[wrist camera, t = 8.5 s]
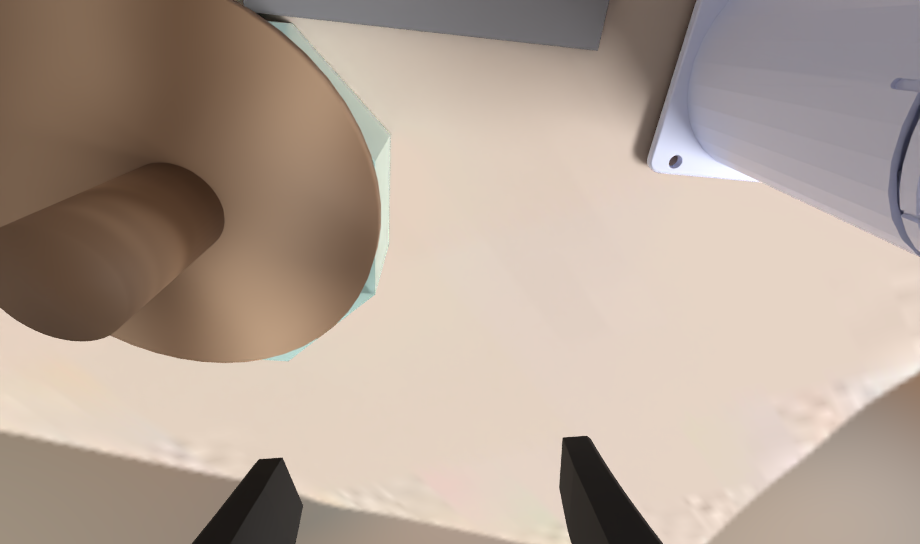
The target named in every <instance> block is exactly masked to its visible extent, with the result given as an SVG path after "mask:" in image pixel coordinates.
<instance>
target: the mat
mask: <svg viewBox="0 0 920 544" xmlns="http://www.w3.org/2000/svg"><path fill="white" fill-rule="evenodd" d="M243 3H244V6H245V7H247V8H249V9H250V10H252V11H254V12H255V13H263V14H272V15H281V16H290V17H299V18H308V19H317V20H326V21H335V22H344V23H353V24H362V25H371V26H380V27H389V28H398V29H407V30H416V31H425V32H434V33H443V34H452V35H461V36H470V37H479V38H488V39H497V40H506V41H515V42H524V43H533V44H542V45H551V46H560V47H569V48H578V49H587V50H596V51H598V48H599V43H600V39H601V35H602V30H603V26H604V21H605V17H606V12H607V8H608V4H609V0H243Z"/></svg>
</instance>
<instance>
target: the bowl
mask: <svg viewBox="0 0 920 544" xmlns="http://www.w3.org/2000/svg"><path fill="white" fill-rule="evenodd" d="M268 22H269V23H271V24H272V25H273V26H275V27H276V28H278V29H279V30H280V31H282V32H283V33H284V34H285V35H286V36H287V37H288V38H289V39H291V40H292V41H293V42H294V43H295V44H296V45H297V46H298V47H299V48H301V49H302V50H303V51H304V52H305V53H306V54H307V55H308V56H309V57H310V58H311V59H312V61H313V62H314V63H315V64H316V65H317V66H318V67H319V68H320V69H321V71H322V72H323V73H324V74H325V75H326V76H327V77H328V78H329V80H330V81H331V83H332V84H333V85H334V87H335V88H336V90H337V91H338V92H339V94H340V95H341V97H342V98H343V99H344V101H345V102H346V104H347V106H348V107H349V109H350V111H351V113H352V115H353V116H354V118H355V120H356V122H357V124H358V125H359V127H360V129H361V131H362V134H363V136H364V139H365V141H366V144H367V146H368V149H369V151H370V153H371V156H372V160H373V164H374V167H375V171H376V175H377V179H378V185H379V192H380V200H381V229H380V236H379V242H378V248H377V251H376V255H375V258H374V261H373V264H372V267H371V270H370V274H369V277H368V279H367V281H366V283H365V285H364V287H363V289H362V291H361V293H360V295H359V297H358V298H357V300H356V301H355V303H354V304H353V306H352V307H351V308H350V310H349V311H348V312H347V313H346V314H345V316H344V317H343V318H342V319H344V318H345V317H346V316H348V315H349V314H350V313H351V312H353V311H354V310H355V309H357V308H358V307H359V306H361V305H362V304H363V303H364V302H366V301H367V300H368V299H370V298H371V297H372V296H374V295H375V293H376V290H377V286H378V282H379V279H380V275H381V272H382V268H383V264H384V261H385V257H386V254H387V250H388V246H389V194H390V133H389V132H388V131H387V130H386V129H385V128H384V127H383V125H382V124H381V123H380V122H379V121H378V120H377V119H376V117H375V116H374V115H373V114H372V113H371V112H370V111H369V110H368V108H367V107H366V106H365V105H364V104H363V103H362V102H361V100H360V99H359V98H358V97H357V96H356V95H355V94H354V93H353V91H352V90H351V89H350V88H349V87H348V86H347V85H346V83H345V82H344V81H343V80H342V79H341V78H340V77H339V76H338V74H337V73H336V72H335V71H334V70H333V69H332V68H331V66H330V65H329V64H328V63H327V62H326V61H325V60H324V59H323V57H322V56H321V55H320V54H319V53H318V52H317V51H316V50H315V48H314V47H313V46H312V45H311V44H310V43H309V42H308V40H307V39H306V38H305V37H304V36H303V35H302V34H301V33H300V31H299V30H298V29H297V28H296V27H295V26H294V25H293V24H292V23H284V22H275V21H268ZM342 319H341V320H342ZM341 320H340V321H341ZM340 321H339V322H340ZM317 339H318V338H317ZM315 340H316V339H315ZM315 340H314V341H315ZM314 341H312V342H314ZM312 342H310V343H308V344H307V345H305V346H303V347H301V348H298V349H296V350H293V351H291V352H288V353H286V354H282V355H279V356H275V357H271V358H267V359H262V360H277V361H289V360H290V359H292V358H293V357H294V356H296V355H297V354H298V353H299V352H301V351H302V350H303V349H305V348H306V347H307V346H309V345H310V344H311V343H312Z"/></svg>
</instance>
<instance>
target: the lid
mask: <svg viewBox="0 0 920 544" xmlns="http://www.w3.org/2000/svg"><path fill="white" fill-rule="evenodd" d="M380 229H381V200H380V192H379V185H378V179H377V175H376V171H375V167H374V164H373V160H372V156H371V153H370V151H369V149H368V146H367V144H366V141H365V139H364V136H363V134H362V131H361V129H360V127H359V125H358V124H357V122H356V120H355V118H354V116H353V115H352V113H351V111H350V109H349V107H348V106H347V104H346V102H345V101H344V99H343V98H342V97H341V95H340V94H339V92H338V91H337V90H336V88H335V87H334V85H333V84H332V83H331V81H330V80H329V78H328V77H327V76H326V75H325V74H324V73H323V72H322V71H321V69H320V68H319V67H318V66H317V65H316V64H315V63H314V62H313V61H312V59H311V58H310V57H309V56H308V55H307V54H306V53H305V52H304V51H303V50H302V49H301V48H299V47H298V46H297V45H296V44H295V43H294V42H293V41H292V40H291V39H289V38H288V37H287V36H286V35H285V34H284V33H283V32H282V31H280V30H279V29H278V28H276V27H275V26H273V25H272V24H271V23H269V22H268V21H266V20H265V19H263V18H262V17H261V16H259V15H258V14H256V13H255V12H254V11H252V10H250V9H249V8H247V7H245V6H243V5H241V4H240V3H238V2H236V1H234V0H0V308H1V309H3V310H4V311H5V312H6V313H7V314H9V315H10V316H11V317H13V318H14V319H16V320H17V321H19V322H20V323H22V324H24V325H26V326H27V327H29V328H31V329H33V330H35V331H38V332H40V333H43V334H45V335H48V336H52V337H55V338H59V339H63V340H70V341H93V340H98V339H102V338H105V337H107V336H109V335H110V336H113V337H115V338H117V339H120V340H122V341H124V342H127V343H129V344H131V345H134V346H137V347H140V348H143V349H146V350H149V351H152V352H155V353H159V354H163V355H167V356H172V357H176V358H180V359H187V360H194V361H201V362H217V363H233V362H249V361H255V360H262V359H267V358H271V357H275V356H279V355H282V354H286V353H288V352H291V351H293V350H296V349H298V348H301V347H303V346H305V345H307V344H308V343H310V342H312V341H314V340H315V339H317V338H319V337H321V336H322V335H323V334H324V333H326V332H327V331H328V330H330V329H331V328H332V327H334V326H335V325H336V324H337V323H338V322H339V321H340V320H341V319H342V318H343V317H344V316H345V314H346V313H347V312H348V311H349V310H350V308H351V307H352V306H353V304H354V303H355V301H356V300H357V298H358V297H359V295H360V293H361V291H362V289H363V287H364V285H365V283H366V281H367V279H368V277H369V274H370V270H371V267H372V264H373V261H374V258H375V255H376V251H377V248H378V242H379V236H380Z"/></svg>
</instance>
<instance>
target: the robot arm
mask: <svg viewBox="0 0 920 544" xmlns="http://www.w3.org/2000/svg"><path fill="white" fill-rule="evenodd" d="M675 155H677V156H678V159H677V161H676V163H675V164H674V165H672V166H669V161H670V159H671V158H672V157H673V156H675ZM647 164H648V167H649V168H650V169H651V170H653V171H654V172H657V173H665V174H675V175H686V176H697V177H708V178H719V179H730V180H741V181H752V182H761V183H764V184H766V185H768V186H770V187H772V188H774V189H776V190H778V191H781V192H783V193H785V194H787V195H789V196H791V197H793V198H795V199H798V200H800V201H802V202H804V203H806V204H808V205H810V206H812V207H815V208H817V209H819V210H821V211H823V212H825V213H827V214H829V215H832V216H834V217H836V218H838V219H840V220H842V221H844V222H846V223H848V224H851V225H853V226H855V227H857V228H859V229H861V230H863V231H865V232H868V233H870V234H872V235H874V236H876V237H878V238H880V239H882V240H885V241H887V242H889V243H891V244H893V245H895V246H897V247H899V248H902V249H904V250H906V251H908V252H910V253H912V254H914V255H916V256H919V257H920V0H696V3H695V7H694V10H693V13H692V16H691V19H690V23H689V26H688V29H687V32H686V35H685V39H684V42H683V45H682V48H681V51H680V55H679V58H678V61H677V64H676V67H675V71H674V74H673V77H672V80H671V84H670V87H669V90H668V93H667V96H666V100H665V103H664V106H663V109H662V112H661V116H660V119H659V122H658V125H657V128H656V132H655V135H654V138H653V141H652V144H651V148H650V151H649V154H648V157H647ZM559 488H560V494H561V499H562V504H563V509H564V514H565V519H566V524H567V529H568V533H569V536H570V540H571V543H572V544H663V543H662V542H661V540H660V539H659V538H658V536H657V535H656V534H655V533H654V531H653V530H652V529H651V527H650V526H649V525H648V523H647V522H646V521H645V519H644V518H643V517H642V515H641V514H640V513H639V511H638V510H637V508H636V507H635V506H634V504H633V503H632V502H631V500H630V499H629V497H628V496H627V495H626V493H625V492H624V490H623V489H622V487H621V486H620V484H619V483H618V482H617V480H616V479H615V477H614V476H613V474H612V473H611V471H610V470H609V468H608V467H607V465H606V463H605V462H604V460H603V459H602V457H601V455H600V454H599V452H598V451H597V449H596V447H595V446H594V444H593V442H592V440H591V439H590V438H589V437H588V436H578V437H564V438H563V441H562V456H561V470H560V485H559ZM302 508H303V505H302V502H301V500H300V498H299V495H298V493H297V491H296V488H295V486H294V483H293V481H292V479H291V476H290V474H289V472H288V469H287V467H286V465H285V462H284V460H283V458H271V459H259V460H258V461H257V462H256V463H255V465H254V466H253V467H252V468H251V470H250V471H249V472H248V474H247V475H246V476H245V477H244V479H243V480H242V481H241V482H240V484H239V485H238V486H237V488H236V489H235V490H234V491H233V493H232V494H231V495H230V497H229V498H228V499H227V500H226V502H225V503H224V504H223V506H222V507H221V508H220V509H219V511H218V512H217V513H216V514H215V516H214V517H213V518H212V520H211V521H210V522H209V523H208V524H207V526H206V527H205V528H204V529H203V530H202V532H201V533H200V534H199V536H198V537H197V538H196V539H195V540H194V542H193V543H192V544H295V543H296V538H297V533H298V528H299V524H300V518H301V513H302Z"/></svg>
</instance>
